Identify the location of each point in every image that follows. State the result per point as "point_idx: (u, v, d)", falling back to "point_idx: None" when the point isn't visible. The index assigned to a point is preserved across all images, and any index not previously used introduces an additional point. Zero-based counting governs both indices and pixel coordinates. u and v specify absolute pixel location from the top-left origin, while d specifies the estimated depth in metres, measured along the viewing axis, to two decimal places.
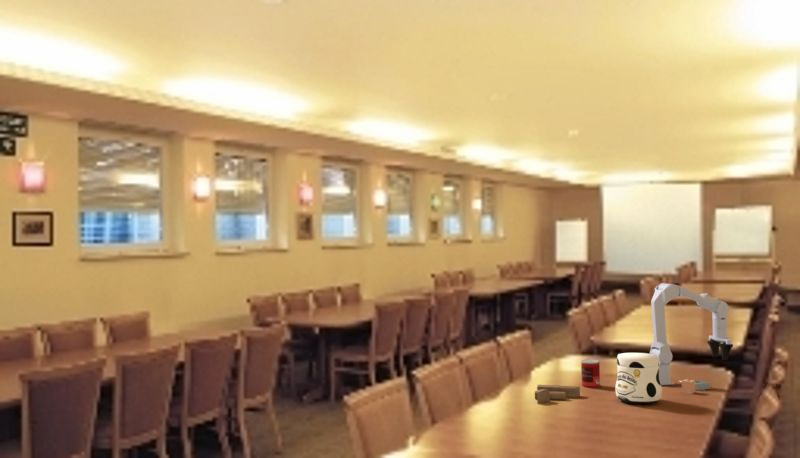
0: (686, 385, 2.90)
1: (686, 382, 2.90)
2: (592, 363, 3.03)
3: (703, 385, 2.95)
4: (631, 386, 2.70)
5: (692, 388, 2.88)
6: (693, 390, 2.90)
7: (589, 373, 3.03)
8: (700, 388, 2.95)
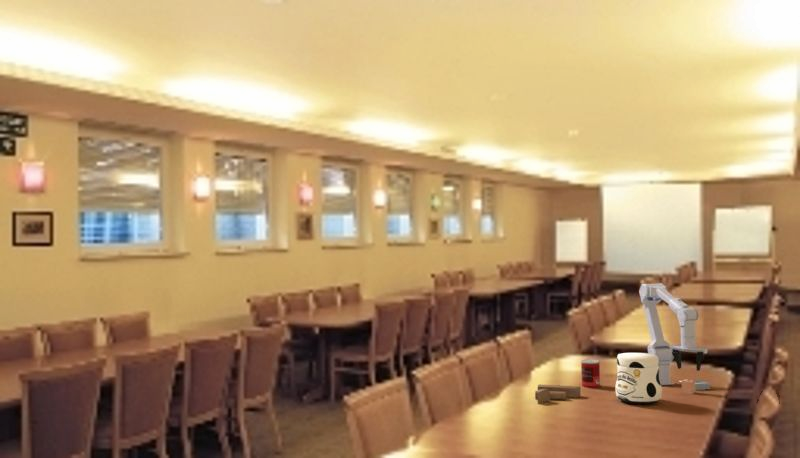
0: (686, 385, 2.90)
1: (686, 382, 2.90)
2: (592, 363, 3.03)
3: (703, 385, 2.95)
4: (631, 386, 2.70)
5: (692, 388, 2.88)
6: (693, 390, 2.90)
7: (589, 373, 3.03)
8: (700, 388, 2.95)
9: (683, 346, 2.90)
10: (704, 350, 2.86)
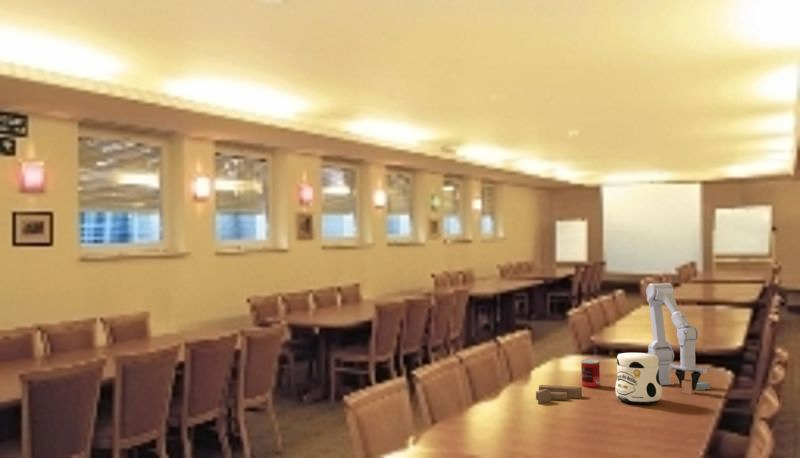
0: (686, 384, 2.90)
1: (686, 382, 2.90)
2: (592, 363, 3.03)
3: (703, 385, 2.96)
4: (631, 386, 2.70)
5: None
6: (693, 390, 2.90)
7: (589, 373, 3.03)
8: (700, 388, 2.95)
9: (682, 366, 2.90)
10: (703, 370, 2.86)
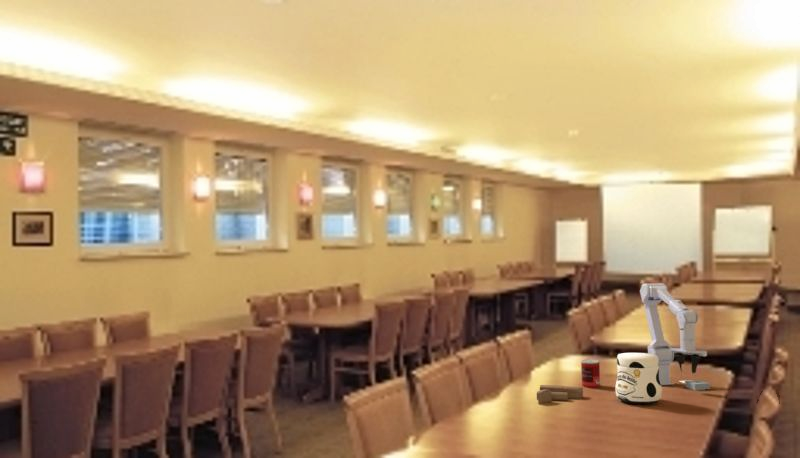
0: (686, 368, 2.90)
1: (686, 365, 2.90)
2: (592, 363, 3.03)
3: (703, 385, 2.96)
4: (631, 386, 2.70)
5: (691, 371, 2.89)
6: (693, 373, 2.90)
7: (589, 373, 3.03)
8: (700, 388, 2.95)
9: (682, 349, 2.90)
10: (703, 353, 2.86)
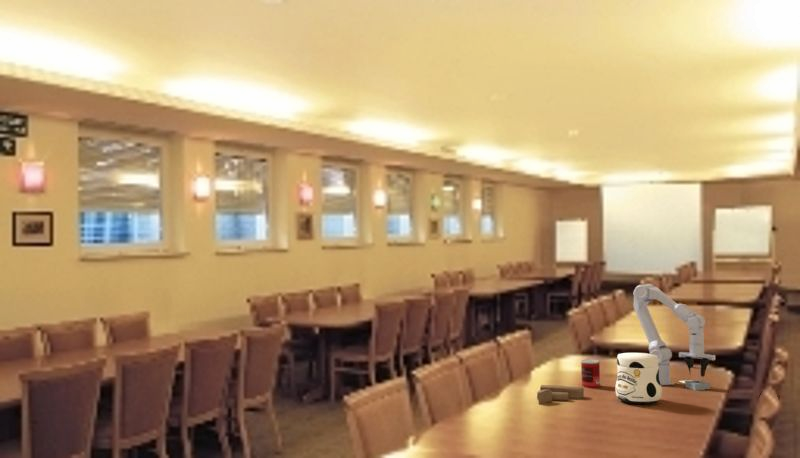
0: (694, 372, 2.97)
1: (695, 369, 2.97)
2: (592, 363, 3.03)
3: (703, 385, 2.96)
4: (631, 386, 2.70)
5: (700, 375, 2.96)
6: (701, 377, 2.97)
7: (589, 373, 3.03)
8: (700, 388, 2.95)
9: (692, 353, 2.98)
10: (712, 357, 2.94)
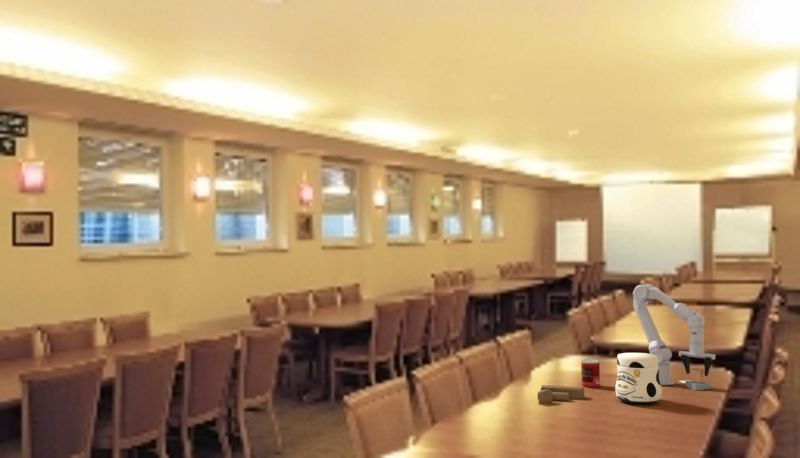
0: (695, 373, 2.98)
1: (695, 371, 2.97)
2: (592, 363, 3.03)
3: (704, 385, 2.96)
4: (631, 386, 2.70)
5: (700, 377, 2.96)
6: (702, 379, 2.97)
7: (589, 373, 3.03)
8: (701, 388, 2.95)
9: (691, 352, 2.98)
10: (712, 356, 2.94)
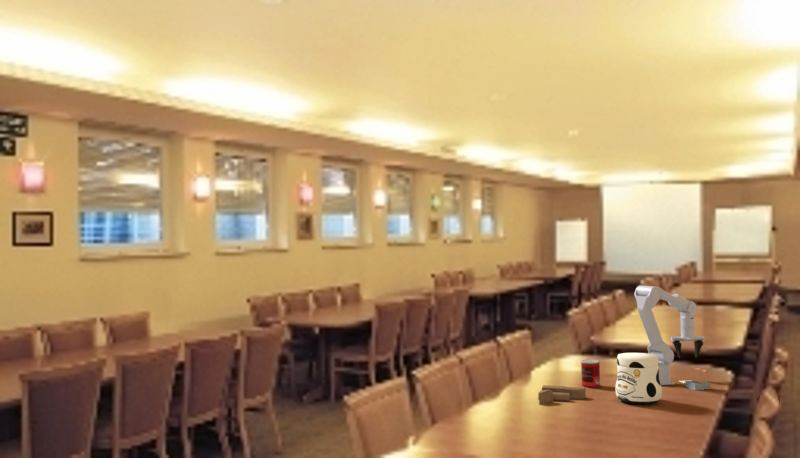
0: (697, 374, 2.97)
1: (698, 371, 2.97)
2: (592, 363, 3.03)
3: (704, 385, 2.96)
4: (631, 386, 2.70)
5: (702, 378, 2.96)
6: (703, 379, 2.98)
7: (589, 373, 3.03)
8: (701, 388, 2.95)
9: (687, 336, 3.15)
10: (703, 338, 3.16)
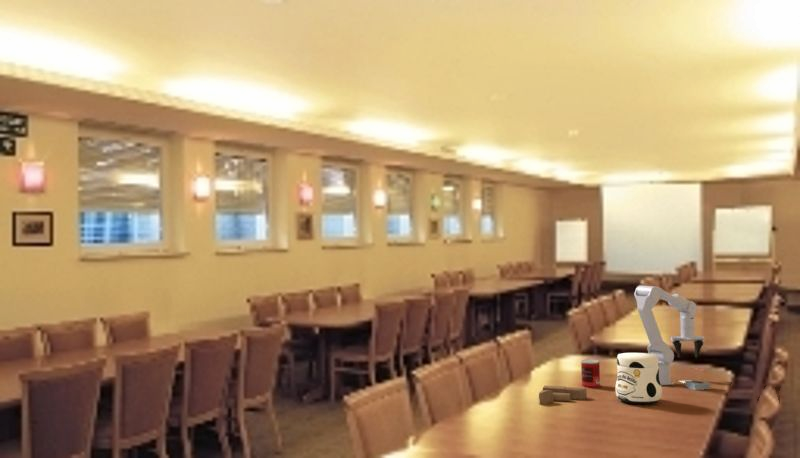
0: (695, 372, 2.98)
1: (696, 370, 2.98)
2: (592, 363, 3.03)
3: (703, 385, 2.96)
4: (631, 386, 2.70)
5: (701, 376, 2.97)
6: (702, 378, 2.98)
7: (589, 373, 3.03)
8: (701, 388, 2.95)
9: (687, 336, 3.15)
10: (703, 338, 3.16)
